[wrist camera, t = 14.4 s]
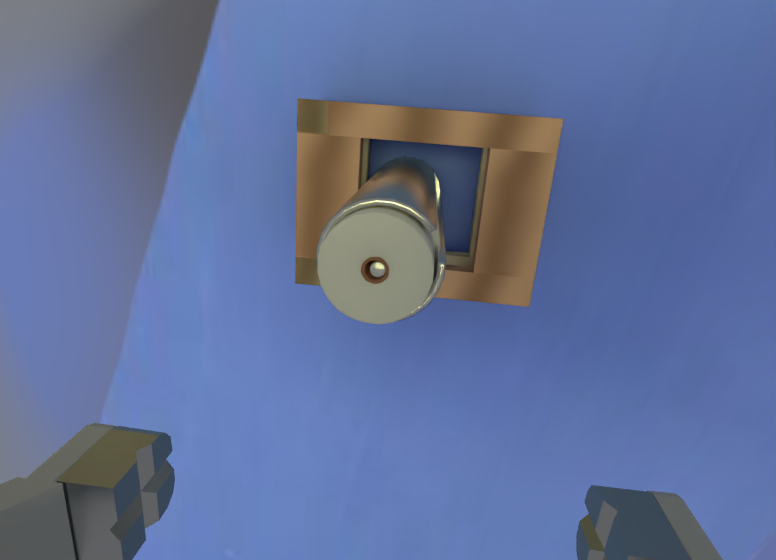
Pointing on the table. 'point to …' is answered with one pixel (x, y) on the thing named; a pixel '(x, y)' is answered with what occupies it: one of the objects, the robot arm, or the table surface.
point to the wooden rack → (493, 196)
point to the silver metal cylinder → (385, 245)
